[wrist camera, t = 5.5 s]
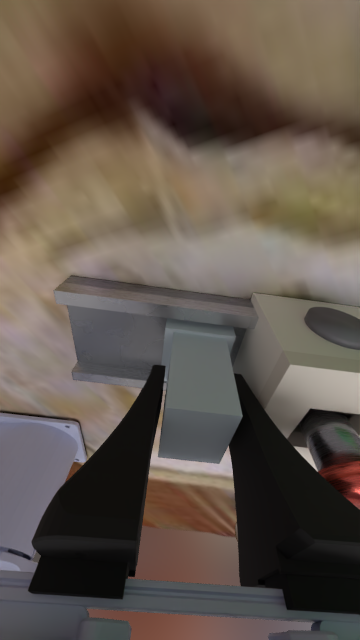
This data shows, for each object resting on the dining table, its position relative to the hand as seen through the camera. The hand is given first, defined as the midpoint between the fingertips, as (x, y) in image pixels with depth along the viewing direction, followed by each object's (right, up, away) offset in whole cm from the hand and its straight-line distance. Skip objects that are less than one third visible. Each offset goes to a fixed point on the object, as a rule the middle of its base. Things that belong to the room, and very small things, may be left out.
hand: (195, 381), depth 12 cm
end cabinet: (+7, +1, +3) cm, 7 cm away
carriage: (0, +2, +2) cm, 3 cm away
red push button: (+6, -1, 0) cm, 6 cm away
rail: (-2, +3, +3) cm, 5 cm away
